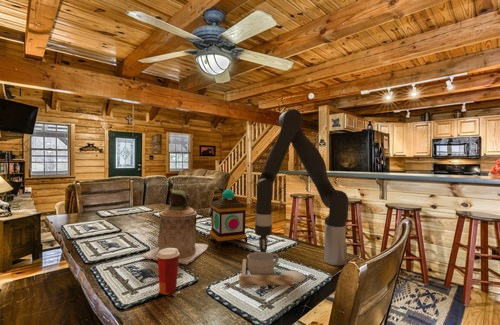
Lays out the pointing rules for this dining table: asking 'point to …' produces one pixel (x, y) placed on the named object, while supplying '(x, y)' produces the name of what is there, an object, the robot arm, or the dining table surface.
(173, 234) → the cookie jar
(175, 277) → the paper cup
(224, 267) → the dining table surface
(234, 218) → the decorative lantern
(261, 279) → the cup rest
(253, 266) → the teacup
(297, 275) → the felt coaster
